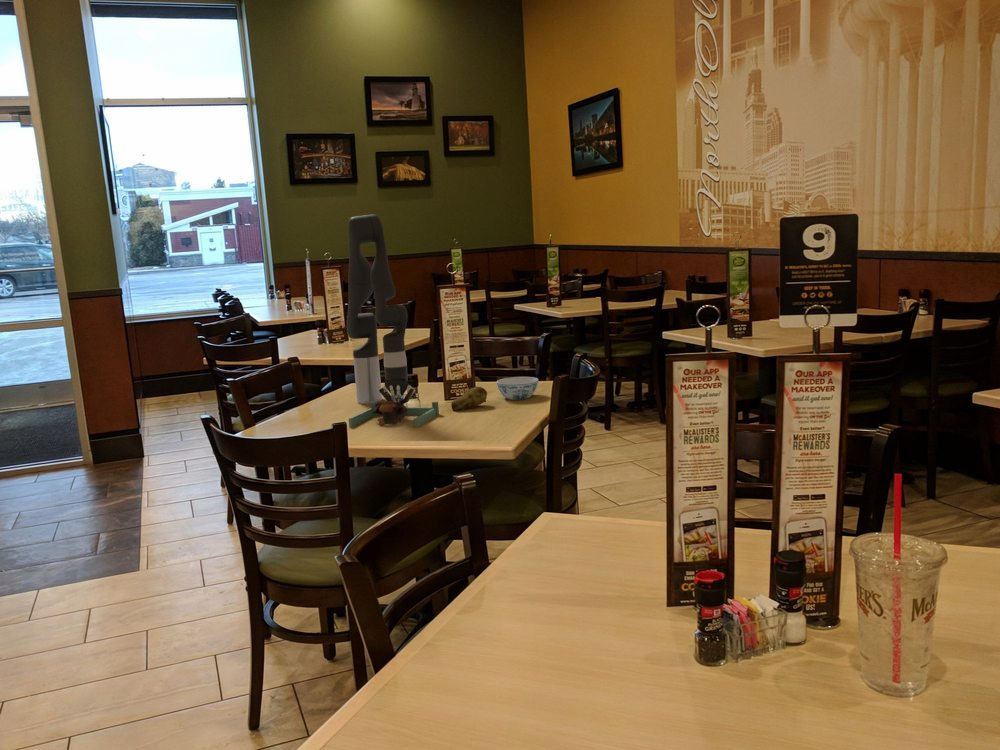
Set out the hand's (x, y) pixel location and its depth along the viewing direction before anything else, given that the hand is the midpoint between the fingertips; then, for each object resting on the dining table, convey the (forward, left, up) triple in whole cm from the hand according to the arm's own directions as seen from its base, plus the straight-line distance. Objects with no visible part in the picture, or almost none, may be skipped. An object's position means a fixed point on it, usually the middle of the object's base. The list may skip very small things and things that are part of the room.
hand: (399, 415), depth 281 cm
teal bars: (+4, 0, -1) cm, 4 cm away
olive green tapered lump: (-15, +20, -2) cm, 25 cm away
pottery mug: (+8, +1, -2) cm, 8 cm away
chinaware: (-31, +33, -2) cm, 45 cm away
